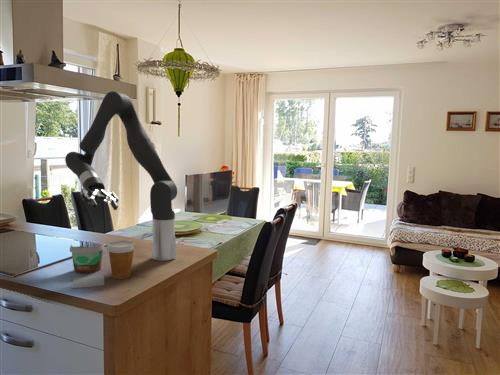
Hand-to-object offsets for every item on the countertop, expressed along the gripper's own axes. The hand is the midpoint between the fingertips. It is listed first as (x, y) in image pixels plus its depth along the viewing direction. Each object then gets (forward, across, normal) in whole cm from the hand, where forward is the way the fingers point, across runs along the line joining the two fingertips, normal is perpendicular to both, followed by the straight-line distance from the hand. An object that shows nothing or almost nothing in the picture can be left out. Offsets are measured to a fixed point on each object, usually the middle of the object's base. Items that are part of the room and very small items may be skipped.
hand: (106, 208), depth 146 cm
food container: (+15, -6, +20) cm, 25 cm away
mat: (+24, -10, +14) cm, 30 cm away
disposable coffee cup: (+25, +1, +12) cm, 28 cm away
